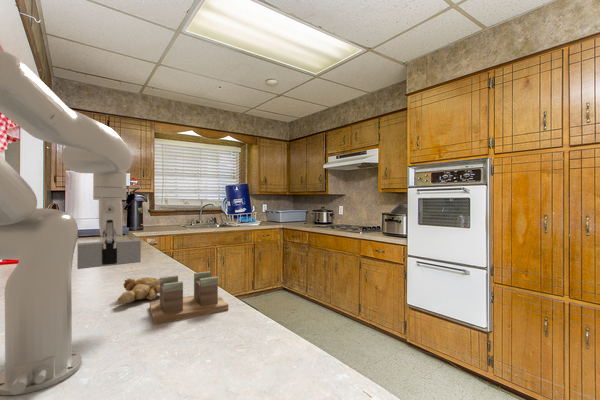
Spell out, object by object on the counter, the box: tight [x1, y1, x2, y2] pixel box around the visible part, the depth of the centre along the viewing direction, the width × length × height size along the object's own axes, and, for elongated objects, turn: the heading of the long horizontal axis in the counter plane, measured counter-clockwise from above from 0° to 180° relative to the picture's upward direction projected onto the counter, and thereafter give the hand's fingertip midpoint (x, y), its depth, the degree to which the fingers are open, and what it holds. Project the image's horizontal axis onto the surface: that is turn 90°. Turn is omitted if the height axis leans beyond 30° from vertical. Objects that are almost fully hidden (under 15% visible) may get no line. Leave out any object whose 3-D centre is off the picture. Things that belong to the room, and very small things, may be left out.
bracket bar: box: [76, 238, 142, 270], centre depth 79 cm, size 4×14×6 cm, turn 128°
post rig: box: [149, 270, 229, 325], centre depth 90 cm, size 14×20×10 cm
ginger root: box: [116, 276, 160, 304], centre depth 100 cm, size 16×16×8 cm
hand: (109, 261), depth 79 cm, fingers closed on bracket bar, 4 cm apart
